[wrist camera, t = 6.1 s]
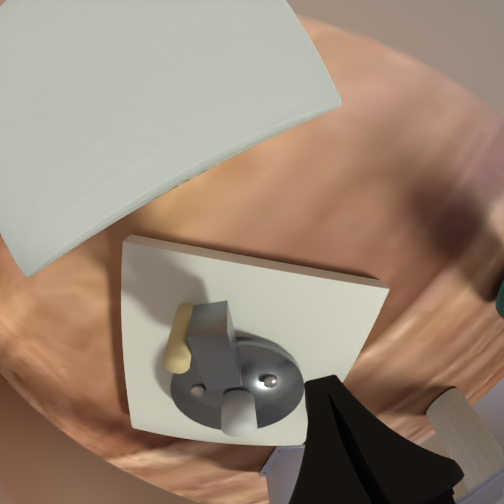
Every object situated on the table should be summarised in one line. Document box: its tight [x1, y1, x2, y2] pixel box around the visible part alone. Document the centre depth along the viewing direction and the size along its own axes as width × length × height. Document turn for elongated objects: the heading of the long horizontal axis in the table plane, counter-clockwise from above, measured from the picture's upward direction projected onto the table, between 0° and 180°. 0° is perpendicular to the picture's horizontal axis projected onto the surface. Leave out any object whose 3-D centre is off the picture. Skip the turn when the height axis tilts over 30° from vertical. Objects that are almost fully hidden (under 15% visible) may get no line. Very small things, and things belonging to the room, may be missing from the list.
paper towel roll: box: [426, 388, 504, 490], centre depth 18 cm, size 7×6×21 cm
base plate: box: [121, 234, 389, 446], centre depth 18 cm, size 20×18×6 cm
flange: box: [170, 300, 304, 430], centre depth 17 cm, size 14×10×4 cm
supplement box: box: [0, 0, 342, 277], centre depth 9 cm, size 7×7×13 cm
